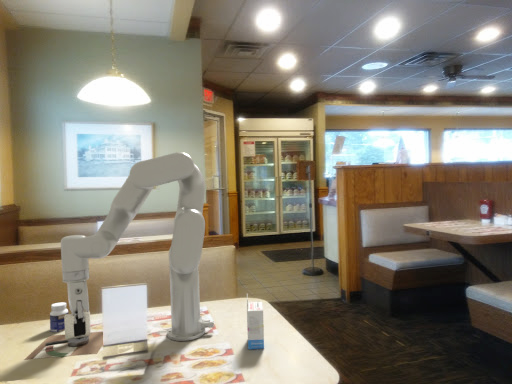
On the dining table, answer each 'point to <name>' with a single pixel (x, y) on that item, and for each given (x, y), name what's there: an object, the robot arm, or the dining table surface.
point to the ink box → (255, 325)
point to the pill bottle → (58, 317)
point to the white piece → (69, 332)
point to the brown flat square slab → (67, 347)
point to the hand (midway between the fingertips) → (79, 332)
